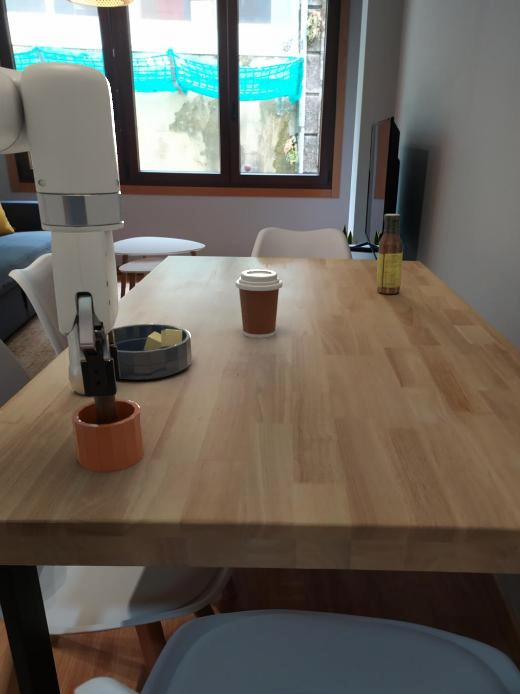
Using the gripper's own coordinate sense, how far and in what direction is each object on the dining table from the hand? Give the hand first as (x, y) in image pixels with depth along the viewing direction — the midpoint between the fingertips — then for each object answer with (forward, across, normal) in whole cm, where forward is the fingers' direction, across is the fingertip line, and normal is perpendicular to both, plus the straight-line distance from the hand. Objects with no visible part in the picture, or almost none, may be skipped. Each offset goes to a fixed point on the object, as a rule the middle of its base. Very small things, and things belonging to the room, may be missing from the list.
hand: (103, 386), depth 59 cm
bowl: (+9, -30, +2) cm, 32 cm away
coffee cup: (+9, -46, +24) cm, 53 cm away
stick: (+9, 0, 0) cm, 9 cm away
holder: (+9, 0, 0) cm, 9 cm away
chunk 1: (+7, -33, +4) cm, 34 cm away
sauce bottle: (+9, -77, +63) cm, 100 cm away
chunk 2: (+5, -30, +7) cm, 32 cm away
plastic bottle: (+9, -20, -4) cm, 23 cm away
